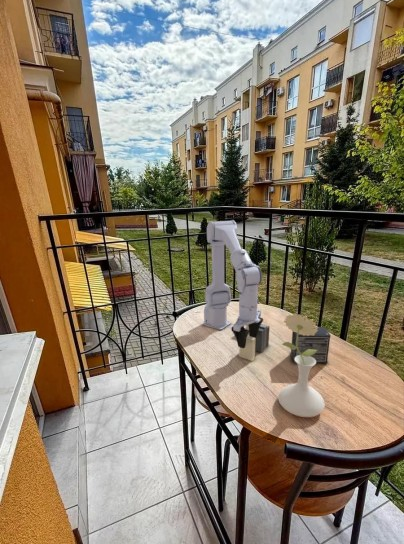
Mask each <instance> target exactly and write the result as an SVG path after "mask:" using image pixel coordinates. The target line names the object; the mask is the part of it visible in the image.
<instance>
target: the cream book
mask: <svg viewBox="0 0 404 544" xmlns="http://www.w3.org/2000/svg"><path fill="white" fill-rule="evenodd" d="M238 348H239V355H238V356H239V358H241V359H244V360H246V361H247V360H248V361H251V362H253V361H255V360H256V351H255V338H254V337H251V336H249V335H247V339H246V345H245V348H240V347H238Z"/></svg>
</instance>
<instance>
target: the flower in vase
mask: <svg viewBox="0 0 404 544" xmlns="http://www.w3.org/2000/svg"><path fill="white" fill-rule="evenodd" d="M283 322H284V323H285V327H287V328H288V330H291V331H292V332H297V338H296V346H295V345H293V344H292V342H289V341H286V342H283V343H282V344H281V345H282V346H285V347H287V348H289V349H290V350H291V349H292V350H295V349H296V348H297V350H298V352H299V354H300V355H298V356H296V357H295V359H294V360H295V362H296V363H295V364H296V365H297V367H298V368H297V369H298V378H297V379H298V380H297V382H296V383H292V384H289V385H285V386H284V387H283V388H281V390H280V391H279V393H278V397H277V399H278V402H279V404H280V405H281V407H282V408H283V409H284V410H285V411H286V412H287V413H289V414H291V415H294V416H296V417H301V418H314V417H316V416H318V415H320V414H321V413H323V411H324V410H325V407H326V405H325V400H324V398H323V396H322V395H321V394H320V392H318V390H316V389H315V388H313V387H312V386H310V385H309V376H310V372H311V369H312V368H313V367H314V366H315V365H316V360H315V359H314V358H313V357H311V355H313V354H315V353H316V352H317V350H313V349H308V350H306V351H305V352H304V353H302V354H301V353H300V351H299V349H298V347H297V340H298V335H299V334H301V335H304V336H305V335H307V336H309V335H315V333H316V332H317V331H318V330H317V327H318V326H316V325H317V323H316V322H314V320H312V319H308V316H307V315H301V314H300V313H299V314H296V313H292V314H288V315H286V316H285V318H284V320H283Z"/></svg>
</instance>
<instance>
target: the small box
mask: <svg viewBox="0 0 404 544" xmlns="http://www.w3.org/2000/svg"><path fill="white" fill-rule="evenodd" d="M316 327H317V330H318V331H317V332H316V333H315V335H309V336H307V335H305V336H304V335H301V334H299V335H298V340H297V347H298V349H299V351H300V353H301V354H302V353H304V352H305V351H306V350H308V349H313V350H317V352H316V353H315V354H313V355H311V357H313V358H314V359H315V360H316V364H317V365H327V364H328V362H329V361H328V359H329V350H330V344H331V343H330V341H331V334H330V332H329V331H328V330H327V328H326V326H316ZM296 338H297V332H293V331H292V334H291V344H293V345H295V346H296ZM298 355H300V354H299V352H298V350H297V348H296V349H295V350H292V349H290V356H291V359H292V361H293V364H297V363H296V362H295V360H294V359H295V357H296V356H298ZM316 364H315V365H316Z"/></svg>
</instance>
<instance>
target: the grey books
mask: <svg viewBox="0 0 404 544" xmlns="http://www.w3.org/2000/svg"><path fill="white" fill-rule="evenodd" d="M269 343H270V325H266V324H263V323H261V325H260V327H259V330H258V334H257V337H256V339H255V352H258V353H263V352H264V351H265V350H266V349H267V348H269Z"/></svg>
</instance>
